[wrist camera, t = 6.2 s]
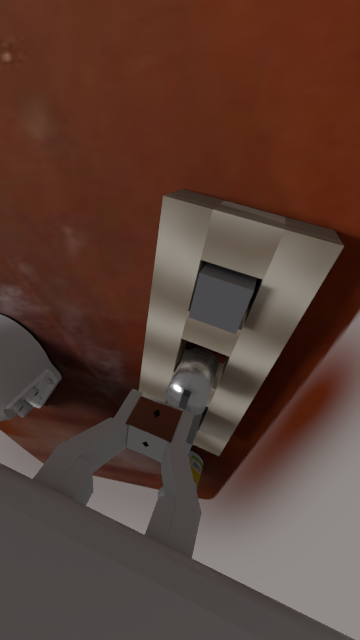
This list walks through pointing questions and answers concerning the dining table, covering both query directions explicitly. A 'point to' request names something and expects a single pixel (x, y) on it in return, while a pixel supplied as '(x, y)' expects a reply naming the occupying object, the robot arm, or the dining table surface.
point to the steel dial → (193, 380)
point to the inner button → (192, 432)
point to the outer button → (222, 297)
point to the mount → (261, 314)
